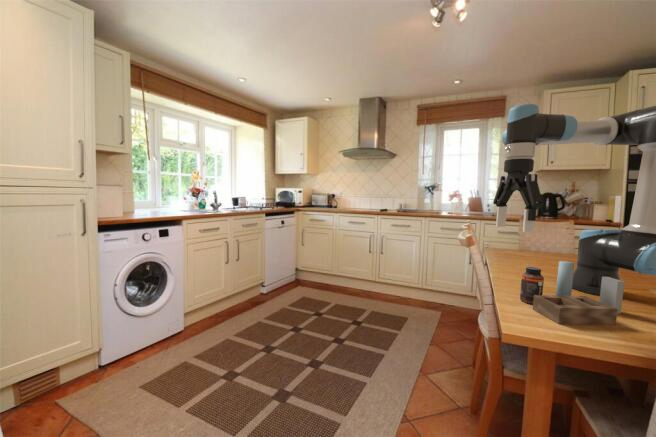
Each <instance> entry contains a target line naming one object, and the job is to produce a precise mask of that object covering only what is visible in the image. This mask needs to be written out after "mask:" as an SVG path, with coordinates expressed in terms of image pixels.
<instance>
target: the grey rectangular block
mask: <svg viewBox="0 0 656 437" xmlns="http://www.w3.org/2000/svg"><path fill="white" fill-rule="evenodd" d="M624 288H625V281H624V280H621V279H620V280H617V279H614V278H611V277H602V282H601V291H600V295H599V300H598V301H599V302H601V303H604V304H607V305H609V306H612V307H614V308H617V309H618V311H617V315H621V313H622V304H623V298H624Z"/></svg>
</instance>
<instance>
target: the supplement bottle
mask: <svg viewBox="0 0 656 437" xmlns="http://www.w3.org/2000/svg"><path fill="white" fill-rule="evenodd" d="M544 278H545V277H544V276H543V275H542V269H541V268H539V267H536V266H526V267H525V271H524V272H523V273H522V275H521V284H520V294H519V299H520V301H522V302H523V303H526V304H530V305H533V299H534V295H544V294H543V291H544V282H545V279H544Z"/></svg>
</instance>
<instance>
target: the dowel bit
mask: <svg viewBox="0 0 656 437" xmlns="http://www.w3.org/2000/svg"><path fill="white" fill-rule="evenodd" d="M574 271H575V263H574V262H572V261H567V260H566V261H564V260H559V261H558V269H557V277H556V278H557V280H556V290H555V295H556V296H572V293H573V288H572V283H573V273H574Z"/></svg>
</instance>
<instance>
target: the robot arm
mask: <svg viewBox="0 0 656 437" xmlns="http://www.w3.org/2000/svg"><path fill="white" fill-rule="evenodd" d="M507 115H508V116H507V120H506V129H505V130H504V131H503V132H502V136H501V141H502V144H503V146H505V148H504V151H505V152H504V153H505V154H504V158H505V159H506V160H504V164H503V172H504V173H506V174H507V175H501V176H500V181H499V184H498V187H497V191H496V192H495V193H496V194H495V196H494V199H493V202H492V204H493V205H495V206H496V207H497V208H496V209H497V210H496V219H495V226H496V227H503V228H505V227H506V225H507V224H506V223H507V214H508V212H507V211H508V205H507V204H508V202H509V200H511V197H512V195H513V193H514V192H516V191H517V192H519V194H520V196H521V198H522V200H523V202H524V204H525V206H524V209H523V210H524V211H523V222H522V223H523V224H522V233H535V225H536V223H535V222H536V218H537V210H539V209H541V208H543V207H544V202H543V198H542V194H541V190H540V187H539V183H538V174H537V173H535V174H534V173H532V172H534V166H535V165H534V164H535V160H534V159H533V158H534V157H535V156H536V146H550V145H551V146H552V145H569V144H589V143H590V144H591V143H594V144H595V145H599V146H606V145H607V146H612V145H614V146H634V145H635V146H636V145H637V148H638V149H639V150H640V151H642V156H641V162H640V165H639V166H640V167H639V172H638V177H637V182H636V187H635V193H634V197H633V203H632V208H631V213H630V218H629V222H628V223H629V224H627V225H626V226H624V227H623V228H621V229H612V228H611V229H607V228H606V229H604V228H603V229H599V228H598V229H594V228H593V229H582V231H581V232H580V233H579V234H580V235H579V238H578V247H577V259H576V260H577V261H576V268H574V273H573V283H572V290H576V291H579V292H582V293H587V294H590V295H596V296H600V291H601V282H602V277H611V278H614V279H617V280H621V277H620V274H619V270H620V269H622V270H626V271H630V272H635V273H638V274H640V275H648V276H654V277H656V105H651V106H648V107H644V108H640V109H635V110H631V111H627V112H625V113H620V114H618V115H612V116H611V115H610V116H603V117H600V118H599V119H596V120H594V119H593V120H592V119H591V120H577V118H576V117H575V116H573V115H568V114H567V115H566V114H563V113H561V114H558V113H557V114H555V113H554V114H552V113H540V110H539V105H538V104H534V103H524V104H523V103H522V104H517V105H515V106H512V107H511V108H509V110H508V114H507Z"/></svg>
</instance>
